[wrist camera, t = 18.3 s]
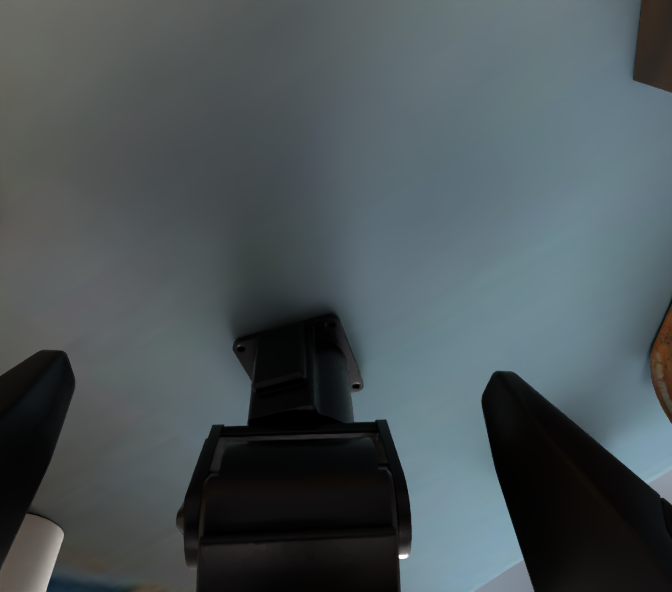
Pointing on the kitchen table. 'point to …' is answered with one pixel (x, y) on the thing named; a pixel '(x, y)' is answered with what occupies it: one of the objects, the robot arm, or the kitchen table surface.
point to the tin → (663, 365)
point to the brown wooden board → (655, 45)
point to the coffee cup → (31, 556)
